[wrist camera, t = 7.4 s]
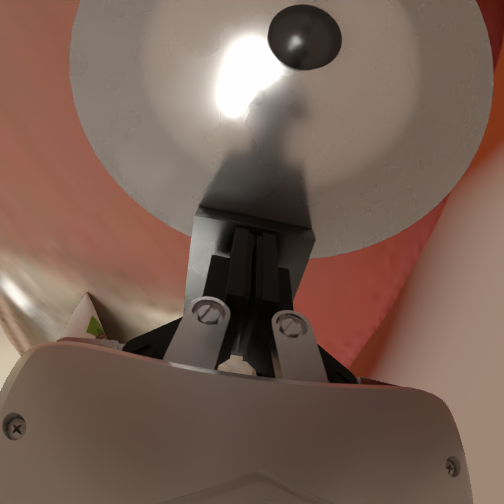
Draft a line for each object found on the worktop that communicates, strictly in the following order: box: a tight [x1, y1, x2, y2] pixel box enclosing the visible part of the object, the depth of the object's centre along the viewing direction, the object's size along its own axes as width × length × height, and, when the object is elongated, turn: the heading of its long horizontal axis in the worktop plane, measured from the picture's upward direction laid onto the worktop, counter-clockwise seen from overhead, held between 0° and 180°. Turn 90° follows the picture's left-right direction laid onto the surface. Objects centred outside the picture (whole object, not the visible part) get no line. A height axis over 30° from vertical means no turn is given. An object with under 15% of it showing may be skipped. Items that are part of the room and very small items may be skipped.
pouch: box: [60, 293, 107, 340], centre depth 33 cm, size 8×19×20 cm, turn 170°
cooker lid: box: [69, 0, 494, 356], centre depth 10 cm, size 26×19×3 cm
